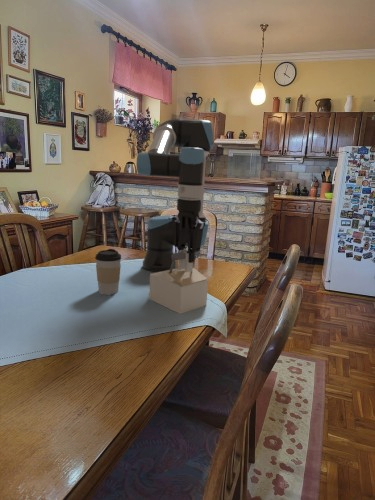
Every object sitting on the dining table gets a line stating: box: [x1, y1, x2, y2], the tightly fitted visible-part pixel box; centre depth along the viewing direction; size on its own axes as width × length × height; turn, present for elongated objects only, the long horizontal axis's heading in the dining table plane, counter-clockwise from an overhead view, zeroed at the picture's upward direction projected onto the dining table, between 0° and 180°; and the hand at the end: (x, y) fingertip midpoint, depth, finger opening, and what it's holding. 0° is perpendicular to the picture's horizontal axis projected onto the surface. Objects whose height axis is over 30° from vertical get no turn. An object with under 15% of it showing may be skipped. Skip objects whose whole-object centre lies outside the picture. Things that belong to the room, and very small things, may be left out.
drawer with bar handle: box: [167, 251, 208, 287], centre depth 115 cm, size 11×8×8 cm
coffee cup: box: [94, 248, 122, 295], centre depth 127 cm, size 9×9×15 cm
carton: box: [149, 268, 209, 315], centre depth 121 cm, size 12×17×9 cm
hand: (185, 270), depth 117 cm, fingers open, 2 cm apart
